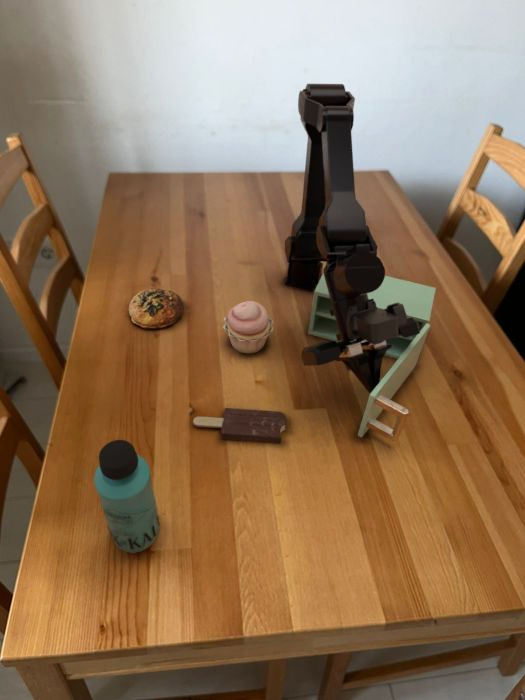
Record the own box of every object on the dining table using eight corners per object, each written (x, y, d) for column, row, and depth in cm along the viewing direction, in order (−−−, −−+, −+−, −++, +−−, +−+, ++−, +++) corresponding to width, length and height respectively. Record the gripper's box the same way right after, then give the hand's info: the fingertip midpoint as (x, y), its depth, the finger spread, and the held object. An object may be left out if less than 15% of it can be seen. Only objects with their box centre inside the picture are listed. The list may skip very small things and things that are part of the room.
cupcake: (248, 319, 102) (249, 279, 95) (282, 343, 97) (286, 303, 90) (212, 341, 97) (211, 300, 90) (246, 367, 93) (247, 326, 86)
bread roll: (196, 311, 103) (191, 292, 99) (153, 343, 98) (146, 325, 94) (161, 288, 108) (155, 269, 104) (118, 317, 103) (111, 299, 99)
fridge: (413, 363, 95) (429, 320, 88) (307, 334, 100) (314, 291, 92) (420, 329, 102) (436, 287, 95) (321, 303, 107) (328, 261, 99)
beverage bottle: (116, 515, 72) (88, 429, 57) (164, 512, 72) (148, 426, 58) (110, 561, 67) (79, 480, 53) (161, 558, 68) (144, 477, 53)
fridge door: (441, 379, 93) (459, 337, 85) (390, 454, 81) (406, 414, 73) (411, 364, 95) (426, 322, 88) (357, 435, 83) (369, 394, 76)
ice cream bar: (191, 437, 81) (285, 444, 81) (190, 431, 80) (286, 437, 80) (195, 411, 85) (285, 417, 85) (195, 405, 84) (286, 411, 84)
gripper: (319, 306, 69) (349, 416, 70) (429, 276, 76) (455, 377, 76) (288, 314, 80) (314, 410, 81) (387, 287, 86) (410, 376, 87)
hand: (374, 393), depth 81 cm, fingers closed
